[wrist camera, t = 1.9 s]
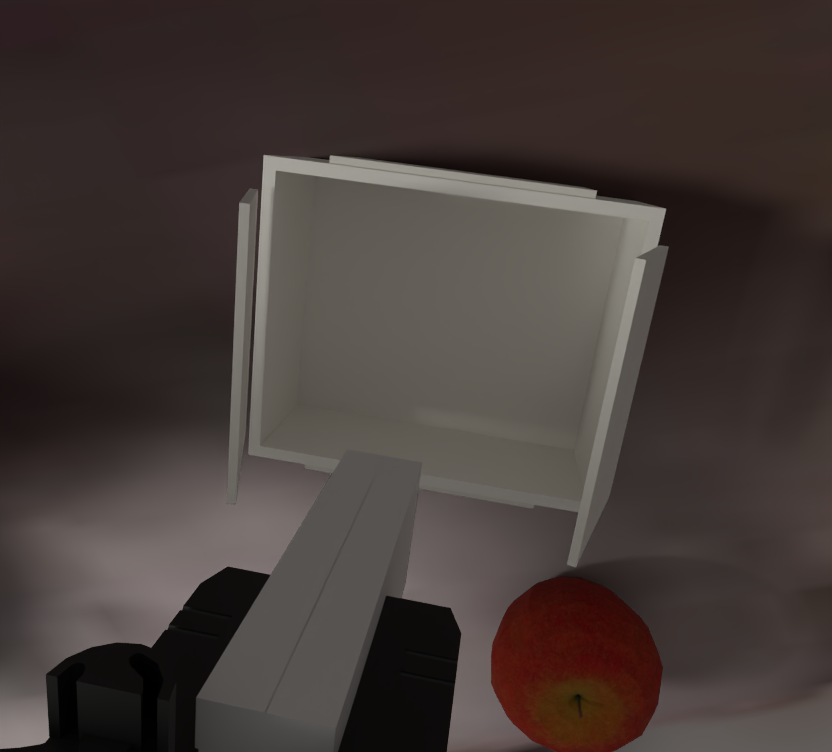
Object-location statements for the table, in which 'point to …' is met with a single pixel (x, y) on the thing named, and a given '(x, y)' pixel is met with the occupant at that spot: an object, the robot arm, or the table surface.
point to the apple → (575, 667)
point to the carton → (439, 322)
